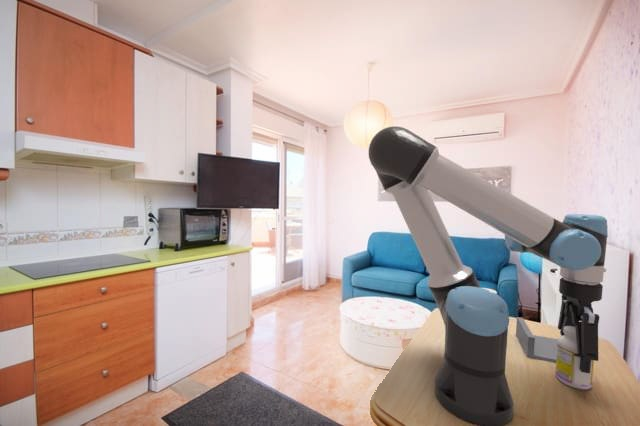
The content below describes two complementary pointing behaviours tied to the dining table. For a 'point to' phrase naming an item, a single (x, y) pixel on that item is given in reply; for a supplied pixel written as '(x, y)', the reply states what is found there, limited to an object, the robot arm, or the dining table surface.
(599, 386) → the dining table surface
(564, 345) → the supplement bottle
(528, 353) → the u cradle
